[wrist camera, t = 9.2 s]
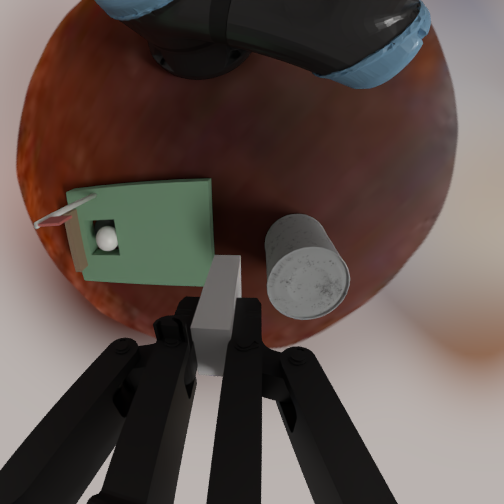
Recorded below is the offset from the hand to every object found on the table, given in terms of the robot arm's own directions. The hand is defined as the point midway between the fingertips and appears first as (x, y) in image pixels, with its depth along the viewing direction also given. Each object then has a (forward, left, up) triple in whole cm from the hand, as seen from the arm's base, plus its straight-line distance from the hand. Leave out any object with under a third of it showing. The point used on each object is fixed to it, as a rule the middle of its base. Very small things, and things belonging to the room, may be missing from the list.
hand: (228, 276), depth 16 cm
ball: (+6, -22, -22) cm, 32 cm away
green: (+6, -17, -24) cm, 30 cm away
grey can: (+8, +7, -25) cm, 27 cm away
